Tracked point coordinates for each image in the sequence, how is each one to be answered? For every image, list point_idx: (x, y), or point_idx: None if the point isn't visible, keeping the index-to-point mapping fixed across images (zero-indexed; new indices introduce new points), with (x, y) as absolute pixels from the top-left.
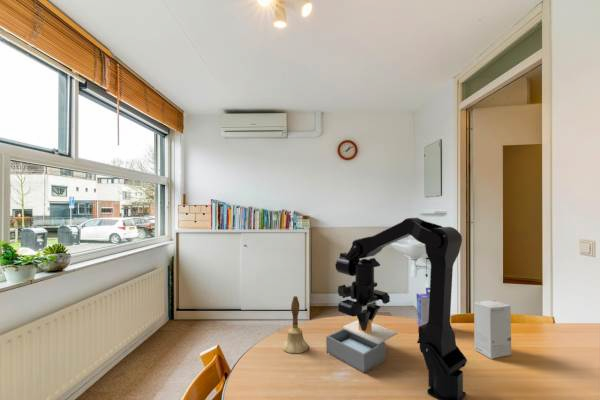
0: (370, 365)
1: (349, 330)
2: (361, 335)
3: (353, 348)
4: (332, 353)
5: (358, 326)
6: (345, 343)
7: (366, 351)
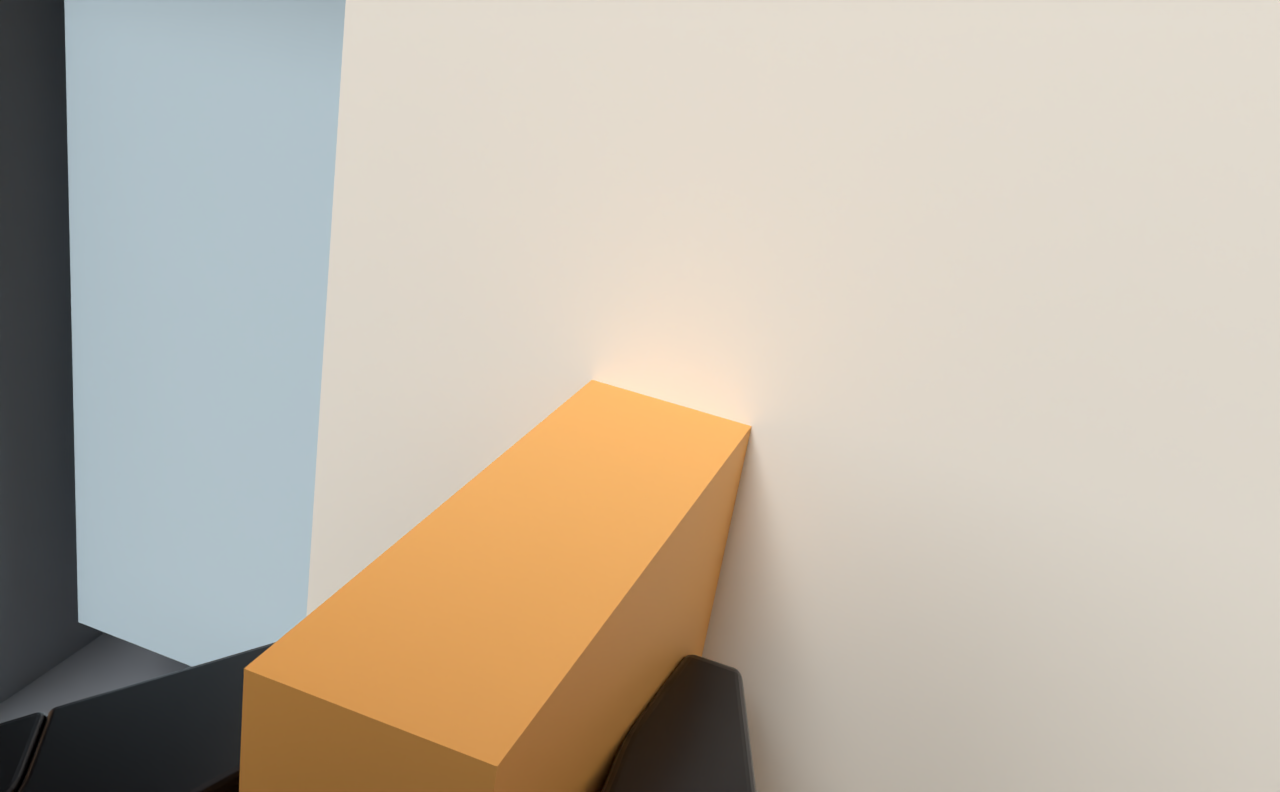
0: None
1: (359, 51)
2: (309, 605)
3: (276, 325)
4: None
5: (889, 240)
6: (332, 12)
7: None
